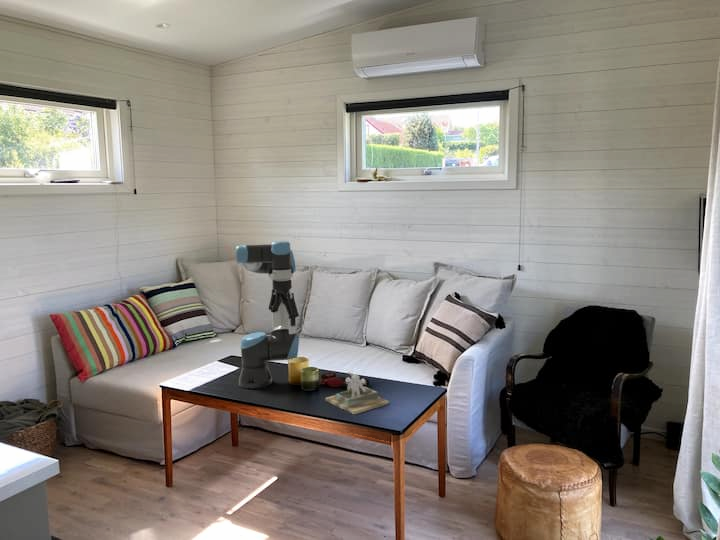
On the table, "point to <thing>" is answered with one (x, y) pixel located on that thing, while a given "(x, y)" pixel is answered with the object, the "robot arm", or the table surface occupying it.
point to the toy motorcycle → (337, 380)
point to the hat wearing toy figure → (355, 384)
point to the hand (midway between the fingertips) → (283, 330)
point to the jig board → (357, 400)
